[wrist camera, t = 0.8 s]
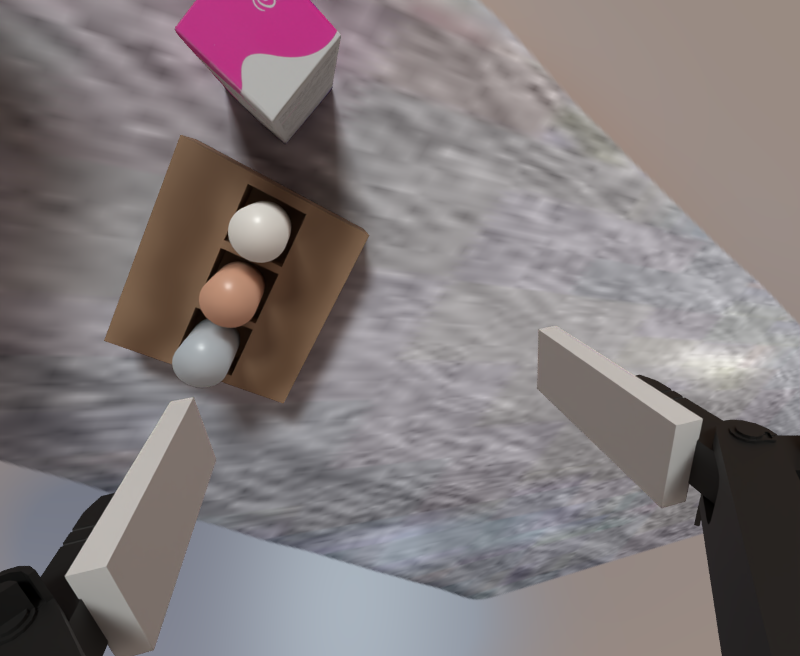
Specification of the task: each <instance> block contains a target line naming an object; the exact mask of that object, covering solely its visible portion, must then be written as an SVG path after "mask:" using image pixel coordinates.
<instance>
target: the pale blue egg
mask: <svg viewBox="0 0 800 656" xmlns="http://www.w3.org/2000/svg"><path fill="white" fill-rule="evenodd" d="M239 345H240V335H239V332H238V330H237V329H236V327H234V328H227V327H221V326H218V325H216V324H214V323H213V322H211V321H210V320H208V319H205V320H203V321H201V322H200V323H198V324H197V325H196V327H195V328H194V329H193V330H192V332H191V333H190V334H189V335H188V337H187V338H186V339H185V340H184V342H183V343H182V344H181V345H180V347H179V348H178V349H177V350H176V352H175V354H174V356H173V360H172V366H173V370H174V372H175V374H176V375H177V377H178V378H179V379H180V380H181V381H183V382H184V383H186V384H188V385H190V386H193V387H198V388H207V387H211V386H214V385H216V384H218V383H220V382H221V381H222V380H223V379H224V378H225V376H226V374H227V372H228V370H229V368H230V366H231V363H232V361H233V359H234V357H235V355H236V352H237V350H238V348H239Z"/></svg>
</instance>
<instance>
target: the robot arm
mask: <svg viewBox="0 0 800 656" xmlns="http://www.w3.org/2000/svg"><path fill="white" fill-rule="evenodd" d="M537 389H538V390H539V391H540V392H541V393H542V394H543V395H544V396H545V397H546V398H547V399H548V400H549V401H551V402H552V403H553V404H554V405H555V406H556V407H557V408H558V409H559V410H560V411H561V412H562V413H563V414H564V415H565V416H566V417H567V418H568V419H569V420H570V421H571V422H572V423H573V424H574V425H575V426H576V427H578V428H579V429H580V430H581V431H582V432H583V433H584V434H585V435H586V436H587V437H588V438H589V439H590V440H591V441H592V442H593V443H594V444H595V445H596V446H597V447H598V448H599V449H600V450H601V451H602V452H603V453H605V454H606V455H607V456H608V457H609V458H610V459H611V460H612V461H613V462H614V463H615V464H616V465H617V466H618V467H619V468H620V469H621V470H622V471H623V472H624V473H625V474H626V475H627V476H628V477H629V478H630V479H631V480H633V481H634V482H635V483H636V484H637V485H638V486H639V487H640V488H641V489H642V490H643V491H644V492H645V493H646V494H647V495H648V496H649V497H650V498H651V499H652V500H653V501H654V502H655V503H656V504H657V505H658V506H660V507H661V508H664V507H667V506H671V505H675V504H678V503H682V502H685V501H686V497H687V492H688V487H689V484H690V485H691V486H693V487H694V488H695V489H696V490H697V491H699V492H700V493H701V497H700V501H699V505H698V510H697V514H696V519H695V524H694V525H696V526H699V525H700V521H702V527H703V534H704V541H705V547H706V554H707V560H708V567H709V574H710V580H711V586H712V593H713V600H714V607H715V613H716V620H717V626H718V633H719V640H720V646H721V653H722V656H800V436H778V435H777V434H775V433H774V432H772V431H771V430H769V429H768V428H765V427H763V426H760V425H758V424H756V423H751V422H747V421H743V420H726V421H723V420H721V419H719V418H718V417H716V416H714V415H713V414H711V413H709V412H708V411H706V410H705V409H703V408H701V407H700V406H698V405H696V404H695V403H693V402H691V401H690V400H688V399H686V398H683V397H682V396H681V395H680V394H678V393H677V392H675V391H671V389H670V388H668V387H667V386H665V385H663V384H662V383H660V382H658V381H656V380H653V379H651V378H648V377H645V376H642V375H636V376H634V375H633V374H631V373H630V372H628V371H627V370H625V369H623V368H622V367H620V366H619V365H617V364H616V363H614V362H612V361H611V360H609V359H608V358H606V357H604V356H603V355H601V354H600V353H598V352H597V351H595V350H593V349H592V348H590V347H589V346H587V345H586V344H584V343H582V342H581V341H579V340H578V339H576V338H574V337H573V336H571V335H570V334H568V333H567V332H565V331H563V330H562V329H560V328H559V327H557V326H553V327H548V328H543V329H538V378H537ZM215 461H216V457H215V455H214V452H213V449H212V446H211V444H210V441H209V438H208V435H207V433H206V430H205V427H204V424H203V422H202V419H201V416H200V413H199V411H198V408H197V405H196V402H195V400H194V397H192V398H187V399H181V400H176V401H171V402H170V403H169V405H168V407H167V408H166V410H165V412H164V413H163V415H162V417H161V418H160V420H159V422H158V423H157V425H156V427H155V428H154V430H153V432H152V433H151V435H150V436H149V438H148V440H147V441H146V443H145V445H144V446H143V448H142V450H141V451H140V453H139V455H138V456H137V458H136V460H135V461H134V463H133V465H132V466H131V468H130V469H129V471H128V473H127V474H126V476H125V478H124V479H123V481H122V483H121V484H120V486H119V488H118V489H117V491H116V493H113V494H108V495H104V496H101V497H100V498H99V499H98V500H97V501H95V502H94V503H93V504H92V505H91V506H90V507H89V508H88V509H87V510H86V511H85V512H84V513H83V514H82V516H81V517H80V519H79V520H78V522H77V523H76V525H75V526H74V528H73V532H71V533H70V534H69V535H68V537H67V538H66V540H65V541H64V543H63V547H60V549H59V550H58V552H57V553H56V555H55V556H54V558H53V559H52V561H51V562H50V564H49V565H48V567H47V568H46V570H45V571H44V573H43V574H42V576H41V577H40V576H39V575H38V573H37V572H36V570H34V569H33V568H32V567H30V566H17V567H14V568H10V569H7V570H4V571H2V572H0V656H103V654H104V651H105V649H106V647H107V644H108V646H109V647H110V649H111V651H112V652H113V654H114V655H115V656H134V655H138V654H141V653H145V652H149V651H152V650H154V648H155V645H156V642H157V639H158V636H159V633H160V629H161V626H162V623H163V621H164V617H165V614H166V611H167V608H168V605H169V602H170V599H171V596H172V593H173V590H174V587H175V584H176V581H177V578H178V574H179V571H180V568H181V565H182V562H183V559H184V556H185V553H186V550H187V547H188V544H189V541H190V538H191V535H192V532H193V529H194V526H195V523H196V520H197V517H198V513H199V510H200V507H201V504H202V501H203V498H204V495H205V492H206V489H207V486H208V483H209V480H210V477H211V474H212V471H213V468H214V465H215Z"/></svg>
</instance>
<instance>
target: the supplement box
mask: <svg viewBox="0 0 800 656" xmlns="http://www.w3.org/2000/svg"><path fill="white" fill-rule="evenodd" d="M175 31H176V33H177V34H178V35H179V37H180V38H181V39H182V40H183V41H184V42H185V43H186V44H187V46H188V47H189V48H190V49H191V50H192V51H193V52H194V53H195V54H196V56H197V57H198V58H199V59H200V60H201V61H202V62H203V63H204V64H205V65H206V67H207V68H208V69H209V70H210V71H211V72H212V73H213V75H214V76H215V77H216V78H217V79H218V80H219V81H220V82H221V83H222V84H223V86H224V87H225V88H226V89H227V91H228V92H229V93H230V94H231V95H232V96H233V97H234V98H235V99H237V100H238V101H239V102H240V103H241V104H242V105H243V106H244V107H245V108H246V109H247V110H248V111H249V112H250V113H251V114H252V115H253V116H254V117H255V118H256V119H257V120H259V121H260V122H261V123H262V124H263V125H264V126H265V127H266V128H267V129H268V130H270V131H271V132H272V133H273V134H274V135H275V136H276V137H277V138H279V139H280V140H281V141H282V142H283V143H284V144H286V143H287V142H288V141H289V140H290V139H291V137H292V136H293V135H294V134H295V133H296V131H297V130H298V129H299V128H300V127H301V126H302V124H303V123H304V122H305V121H306V120H307V118H308V117H309V116H310V115H311V113H312V112H313V111H314V110H315V109H316V107H317V106H318V105H319V104H320V103H321V101H322V100H323V99H324V98H325V97H326V95H327V94H328V93H329V92H330V90H331V89H332V85H333V79H334V73H335V67H336V61H337V55H338V50H339V44H340V38H341V35H340V34H339V32H338V31H337V30H336V29H335V28H334V27H333V25H332V24H331V23H330V22H329V21H328V20H327V19H326V18H325V16H324V15H323V14H322V13H321V12H320V11H319V10H318V9H317V7H316V6H315V5H314V4H313V3H312V2H311V1H310V0H196V1H195V2H194V4H193V5H192V6H191V8H190V9H189V10H188V12H187V13H186V14H185V15H184V17H183V18H182V19H181V20H180V22H179V23H178V25H177V26H176V27H175Z"/></svg>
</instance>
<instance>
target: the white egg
mask: <svg viewBox="0 0 800 656" xmlns="http://www.w3.org/2000/svg"><path fill="white" fill-rule="evenodd" d="M291 229H292V226H291V221H290V218H289V216H288V214H287V212H286V211H285V210H284V209H283V208H282V207H281V206H279V205H278V204H276V203H274V202H270V201H258V202H255V203H253V204H250V205H248V206H246V207H244V208H242V209H240V210H238V211H237V212H236V213H235V214H234V215H233V217H232V218H231V220H230V223H229V227H228V236H229V240H230V243H231V245H232V247H233V248H234V250H235V251H236V252H237V253H238V254H239V255H240V256H242V257H243V258H245V259H247V260H249V261H252V262H258V263H263V262H268V261H271V260H274V259H275V258H277V257H278V256H279V255H280V254H281V253H282V252H283V250H284V249H285V247H286V244H287V242H288V240H289V237H290V235H291Z"/></svg>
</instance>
